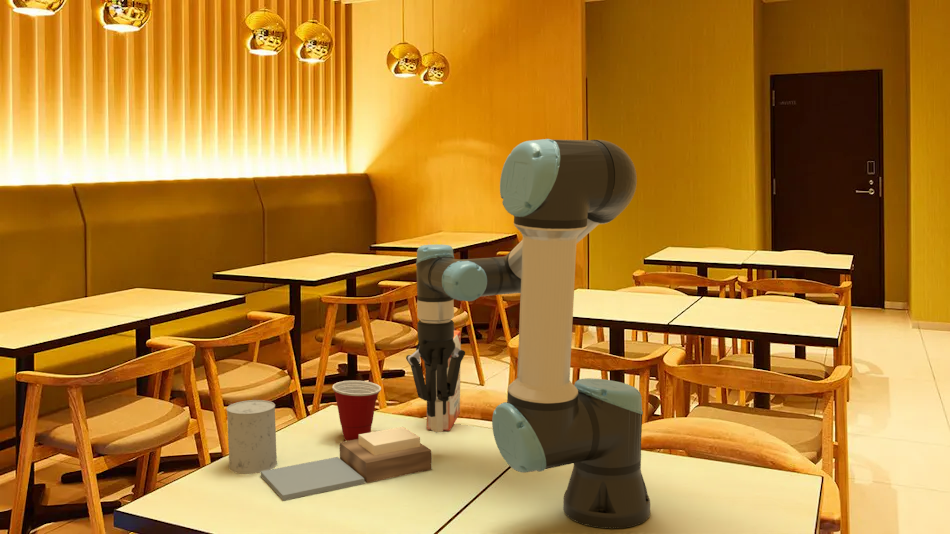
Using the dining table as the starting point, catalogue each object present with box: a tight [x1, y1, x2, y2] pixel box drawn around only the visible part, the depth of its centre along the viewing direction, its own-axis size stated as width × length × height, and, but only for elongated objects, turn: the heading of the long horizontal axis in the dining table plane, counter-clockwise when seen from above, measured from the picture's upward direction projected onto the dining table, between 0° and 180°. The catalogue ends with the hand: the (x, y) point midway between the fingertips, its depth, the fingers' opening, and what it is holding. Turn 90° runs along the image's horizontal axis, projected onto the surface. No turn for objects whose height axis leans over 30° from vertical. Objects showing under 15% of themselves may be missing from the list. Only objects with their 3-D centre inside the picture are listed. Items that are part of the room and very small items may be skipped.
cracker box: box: [426, 329, 462, 432], centre depth 201 cm, size 14×6×21 cm, turn 171°
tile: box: [358, 426, 421, 455], centre depth 174 cm, size 8×10×2 cm
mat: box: [260, 456, 366, 502], centre depth 166 cm, size 14×16×1 cm
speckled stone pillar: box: [226, 399, 278, 475], centre depth 174 cm, size 10×10×12 cm
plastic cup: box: [332, 380, 382, 441], centre depth 190 cm, size 11×11×12 cm
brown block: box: [338, 439, 433, 484], centre depth 174 cm, size 14×14×4 cm
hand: (436, 430), depth 179 cm, fingers closed
